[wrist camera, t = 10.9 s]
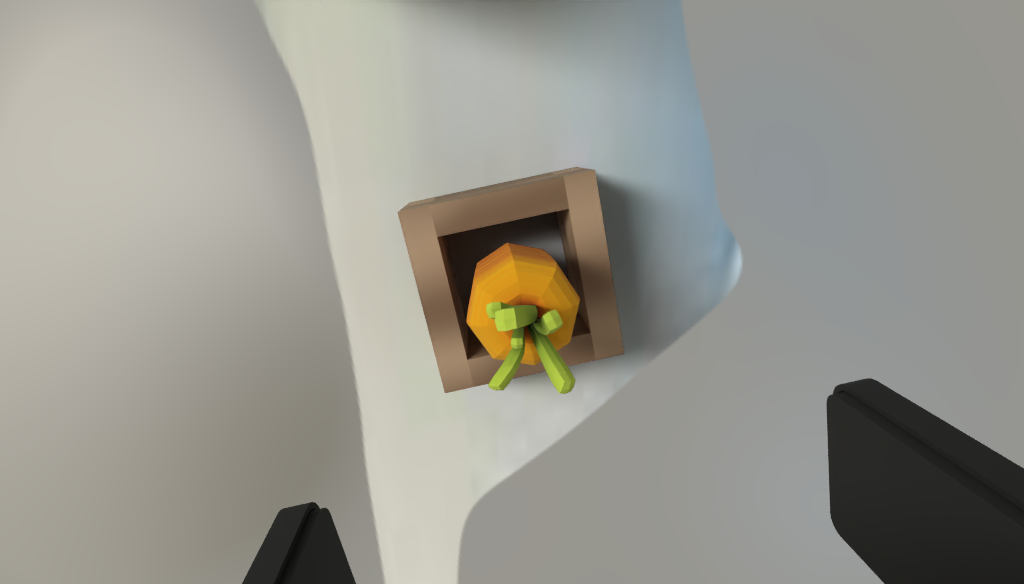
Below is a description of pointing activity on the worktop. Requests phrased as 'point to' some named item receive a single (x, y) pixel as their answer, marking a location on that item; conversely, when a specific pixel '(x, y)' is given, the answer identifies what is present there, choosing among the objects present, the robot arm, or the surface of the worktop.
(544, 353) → the carrot
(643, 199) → the worktop surface
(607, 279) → the holder
